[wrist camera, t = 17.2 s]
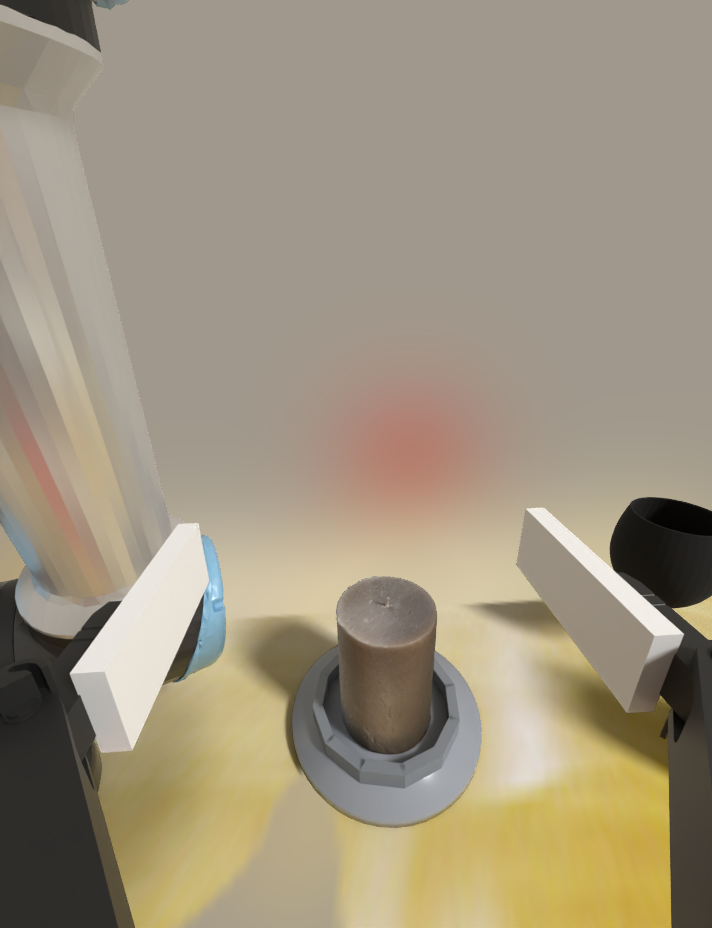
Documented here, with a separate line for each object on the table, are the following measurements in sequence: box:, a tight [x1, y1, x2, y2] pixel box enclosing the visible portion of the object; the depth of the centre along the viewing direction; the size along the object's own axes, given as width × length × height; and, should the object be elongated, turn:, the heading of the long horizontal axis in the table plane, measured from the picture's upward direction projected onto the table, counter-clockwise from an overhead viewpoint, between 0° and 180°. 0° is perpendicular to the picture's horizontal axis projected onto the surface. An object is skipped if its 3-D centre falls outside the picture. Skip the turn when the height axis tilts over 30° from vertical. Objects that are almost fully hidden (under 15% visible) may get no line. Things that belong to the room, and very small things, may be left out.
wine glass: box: [610, 497, 712, 608], centre depth 45 cm, size 10×10×20 cm
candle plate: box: [292, 645, 481, 828], centre depth 41 cm, size 20×20×3 cm
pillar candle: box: [336, 576, 437, 755], centre depth 38 cm, size 10×10×15 cm
